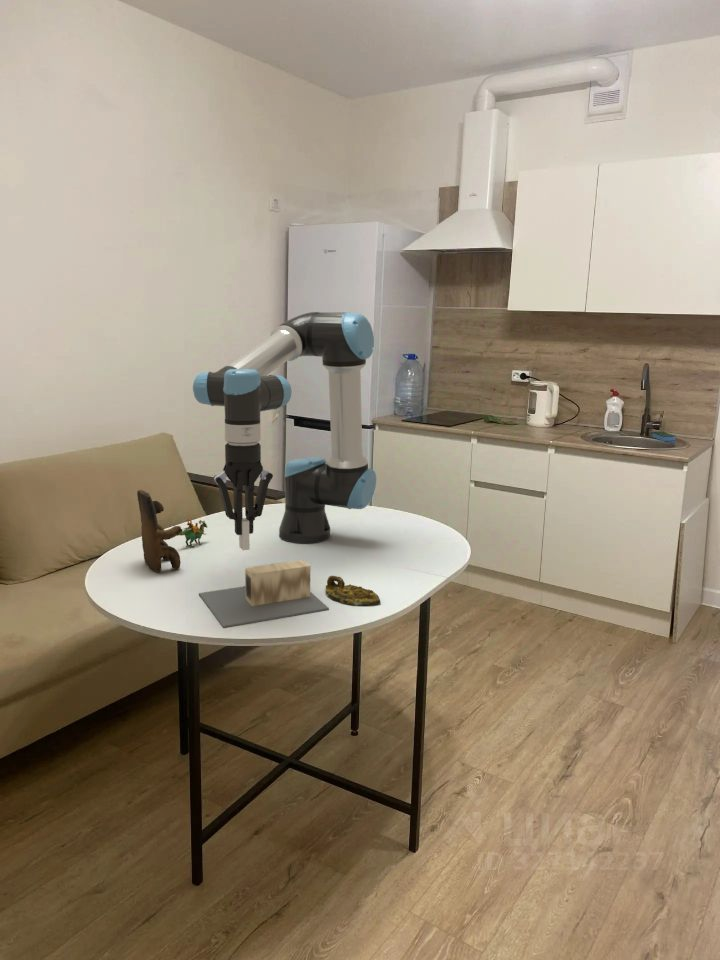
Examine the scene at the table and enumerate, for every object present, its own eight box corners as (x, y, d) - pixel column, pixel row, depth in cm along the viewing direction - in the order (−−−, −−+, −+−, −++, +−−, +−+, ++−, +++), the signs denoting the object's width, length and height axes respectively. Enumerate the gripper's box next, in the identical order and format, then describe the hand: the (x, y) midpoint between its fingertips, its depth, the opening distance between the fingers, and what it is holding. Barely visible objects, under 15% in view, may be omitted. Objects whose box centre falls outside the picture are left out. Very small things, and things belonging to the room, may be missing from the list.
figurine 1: (188, 569, 184) (180, 492, 179) (159, 577, 180) (150, 498, 175) (167, 556, 194) (158, 482, 189) (139, 563, 190) (130, 488, 185)
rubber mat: (295, 580, 179) (295, 578, 179) (328, 609, 162) (328, 608, 161) (198, 594, 168) (198, 593, 168) (223, 628, 151) (223, 626, 151)
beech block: (245, 599, 165) (302, 590, 172) (251, 606, 162) (310, 596, 168) (245, 567, 164) (302, 559, 170) (251, 574, 160) (310, 565, 166)
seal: (389, 603, 170) (334, 589, 177) (391, 583, 169) (336, 570, 176) (370, 612, 162) (313, 597, 169) (372, 591, 161) (315, 577, 168)
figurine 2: (211, 542, 207) (210, 515, 205) (177, 552, 197) (176, 523, 195) (203, 540, 208) (203, 513, 207) (170, 550, 199) (169, 521, 197)
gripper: (217, 447, 149) (220, 557, 154) (277, 443, 155) (278, 549, 160) (208, 441, 155) (210, 546, 161) (266, 438, 161) (266, 539, 166)
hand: (244, 548), depth 160 cm, fingers closed
